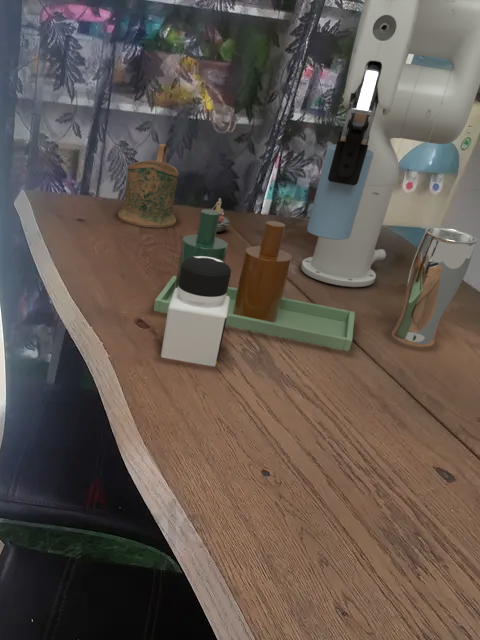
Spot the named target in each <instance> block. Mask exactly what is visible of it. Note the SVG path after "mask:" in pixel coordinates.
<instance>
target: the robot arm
mask: <svg viewBox="0 0 480 640" xmlns="http://www.w3.org/2000/svg"><path fill="white" fill-rule="evenodd" d="M362 5H363V6H362V10H361V14H360V18H359V22H358V26H357V30H356V34H355V37H354V43H353V46H352V51H351V56H350V60H349V65H348V71H347V76H346V82H345V88H344V95H343V102H342V105H343V107H344V108H345V110H347V111H346V116H345V121H344V124H343V129H342V131H340V133H339V136H338V140H337V141H336V144H337V145H336V149H335V153H334V156H333V160H332V164H331V168H330V172H329V176H328V180H329V181H330V182H336V183H342V184H348V185H356V184H357V183H358V180H359V176H360V173H361V169H362V166H363V162H364V159H365V155H366V152H367V149H368V150H370V151H372V152H373V153H374V155H373V159H372V162H371V166H370V169H369V172H368V176H367V179H366V183H365V186H364V190H363V193H362V196H361V200H360V203H359V207H358V210H357V214H356V217H355V220H354V224H353V227H352V231H351V234H350V237H349V238H347V239H343V240H334V239H326V238H322V237H318V236H317V239H316V243H315V247H314V251H313V255H312V256H310V257H306V258H304V259H303V260H302V262H301V265H300V270H301V271H302V273H303V274H304V275H306V276H308V277H309V278H312V279H314V280H316V281H319V282H322V283H324V284H329V285H333V286H339V287H345V288H363V287H367V286H371V285H372V284H374V283H375V282H376V277H377V275H376V272H375V271H374V270H373V269H372V264H374V263H375V262H381V261H384V260H385V258H386V256H387V253H386V250H385V249H383V248H379V249H376V247H377V243H378V240H379V236H380V233H381V230H382V228H383V224H384V221H385V218H386V214H387V211H388V209H389V206H390V202H391V200H392V199H391V198H392V195H393V192H394V189H395V186H396V183H397V180H398V177H399V170H400V164H399V158H398V156H397V154H396V151H395V149H394V146H393V144H392V142H391V139H402V140H403V139H404V140H410V141H416V142H423V143H427V144H435V145H446V144H450V143H453V142H454V141H456V140H457V139H458V138H459V137H460V135H461V134H462V133H463V131H464V129H465V127H466V125H467V122H468V120H469V118H470V114H471V112H472V109H473V107H474V103H475V100H476V97H477V94H478V91H479V88H480V0H364V1H363V4H362ZM407 55H415V56H423V57H429V58H436V59H444V60H447V61H448V62H449V63H450V64H451V66H452V69H451V70H450V69H443V68H438V67H437V68H436V67H430V66H423V65H418V64H412V63H406V59H407ZM348 128H349V130H348ZM347 132H348V133H347ZM363 135H364V136H363ZM345 139H346V141H345ZM361 142H362V143H361Z"/></svg>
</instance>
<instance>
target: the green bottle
mask: <svg viewBox="0 0 480 640" xmlns="http://www.w3.org/2000/svg"><path fill="white" fill-rule="evenodd" d="M219 216H220V213H219V212H218V211H215V209H213V210H212V209H209V208H208V209H206V208H205V209H201V211H200V216H199V222H198V225H197V226H198V227H197V233H196V234H188V235H185V236H183V237H182V241H181V246H180V253H179V260H178V266H177V272H176V276H177V277H176V284H175V289H176V288H178V283H179V277H180V271H181V265H182V262H183V261H185V260H186V259H188V258H191V257H196V256H205V257H212V258H216V259H219V260H221V261H223V262H224V263H225V262H226V258H227V257H226V256H227V253H228V252H227V251H228V247H229V244H228V242H227V241H225V240H224V239H221V238H218V237H217V233H218V232H217V227H218V221H219Z"/></svg>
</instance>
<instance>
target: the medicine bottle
mask: <svg viewBox="0 0 480 640" xmlns="http://www.w3.org/2000/svg"><path fill="white" fill-rule="evenodd" d="M231 274H232V269H231V267H230V265H228V264H227V263H224V262H223V261H221V260H219V259H216V258H212V257H205V256H196V257H191V258H188V259H186V260H185V261H183V262H182V265H181V271H180V277H179V283H178V288H176V289H175V290H174V293H173V296H172V299H171V301H170V304H169V307H168V313H166V321H165V326H164V333H163V339H162V345H161V352H160V357H161V358H163V359H169V360H175V361H180V362H185V363H191V364H197V365H203V366H208V367H209V366H210V367H217V366H218V362H219V358H220V352H221V348H222V344H223V343H222V342H223V337H224V334H225V333H224V332H225V329H226V325H225V324H226V319H227V313H228V307H229V301H230V298H229V296H226V294H227V289H228V287H229V285H230V284H229V283H230V279H231Z"/></svg>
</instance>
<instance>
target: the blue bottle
mask: <svg viewBox="0 0 480 640" xmlns="http://www.w3.org/2000/svg"><path fill="white" fill-rule="evenodd" d="M348 130H349V128H348ZM347 133H348V132H347ZM363 136H364V135H363ZM345 141H346V139H345ZM361 143H362V142H361ZM336 145H337V143H336V144H335V143H334V144H329V145H328V146H327V148H326V151H325V157H324V160H323V163H322V168H321V172H320V176H319V180H318V183H317V187H316V191H315V195H314V200H313V204H312V206H311V211H310V215H309V219H308V223H307V227H306V231H307V232H308V233H310V234H311V235H313V236H316V237H317V238H318V237H322V238H326V239H334V240H343V239H347V238H349V237H350V234H351V231H352V227H353V224H354V220H355V217H356V214H357V210H358V207H359V203H360V200H361V196H362V193H363V190H364V186H365V183H366V179H367V176H368V172H369V169H370V166H371V162H372V159H373V155H374V153H373V152H372V151H370V150H368V149H367V152H366V155H365V159H364V162H363V166H362V169H361V173H360V176H359V180H358V183H357V184H356V185H348V184H342V183H336V182H330V181H329V180H328V176H329V172H330V168H331V164H332V160H333V156H334V153H335V149H336Z"/></svg>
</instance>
